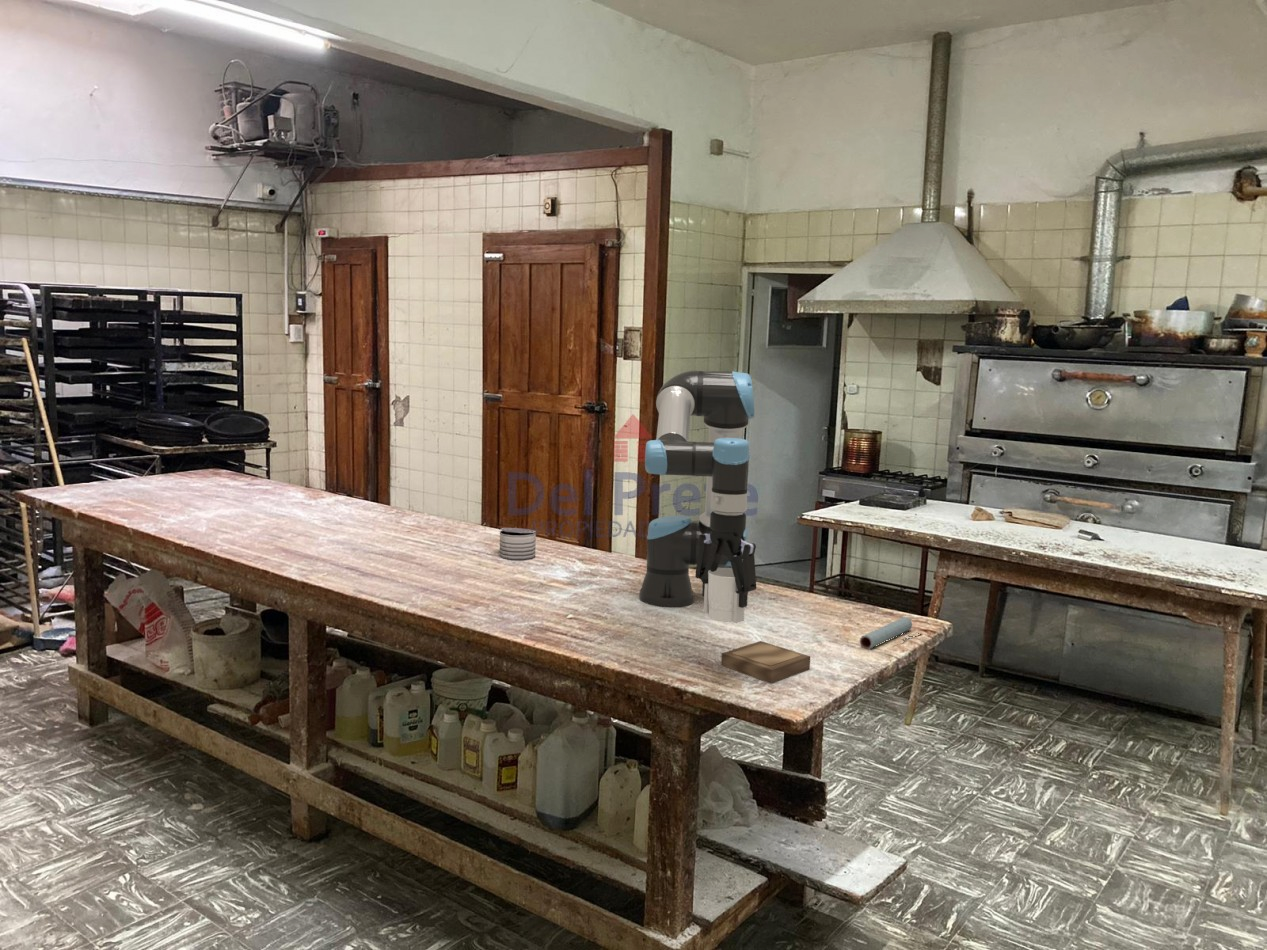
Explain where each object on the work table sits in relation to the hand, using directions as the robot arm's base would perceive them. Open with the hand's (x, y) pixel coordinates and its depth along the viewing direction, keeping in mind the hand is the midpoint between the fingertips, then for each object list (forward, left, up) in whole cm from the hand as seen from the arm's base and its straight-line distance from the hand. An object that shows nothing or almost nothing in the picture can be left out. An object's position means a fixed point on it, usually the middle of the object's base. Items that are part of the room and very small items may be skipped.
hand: (723, 616), depth 202 cm
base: (+2, +13, -14) cm, 19 cm away
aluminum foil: (+9, +55, -14) cm, 58 cm away
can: (-108, +27, -14) cm, 112 cm away
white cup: (0, 0, 0) cm, 1 cm away
